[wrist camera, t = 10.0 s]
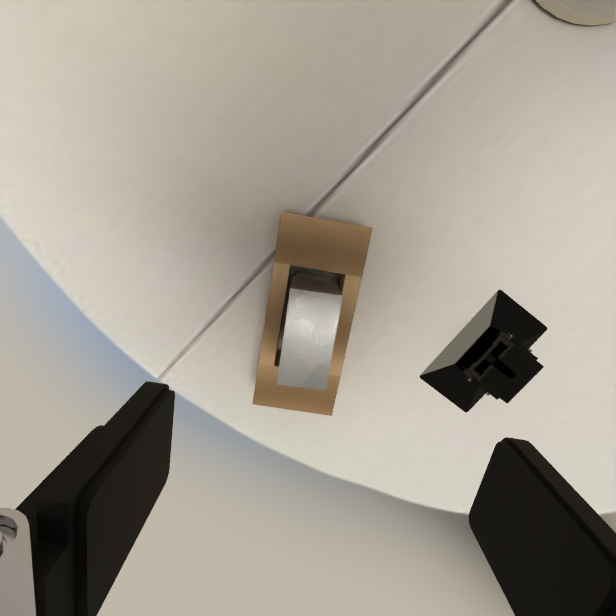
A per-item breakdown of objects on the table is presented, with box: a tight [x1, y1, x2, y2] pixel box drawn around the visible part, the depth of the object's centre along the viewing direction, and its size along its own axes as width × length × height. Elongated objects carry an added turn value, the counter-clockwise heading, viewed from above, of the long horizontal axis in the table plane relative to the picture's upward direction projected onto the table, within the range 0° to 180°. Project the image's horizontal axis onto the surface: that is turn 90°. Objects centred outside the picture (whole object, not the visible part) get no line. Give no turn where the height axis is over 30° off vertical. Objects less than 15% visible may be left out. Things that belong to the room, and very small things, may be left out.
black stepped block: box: [420, 290, 547, 412], centre depth 26 cm, size 12×7×5 cm, turn 143°
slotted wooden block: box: [253, 212, 372, 416], centre depth 25 cm, size 14×6×3 cm, turn 170°
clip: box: [277, 273, 343, 391], centre depth 23 cm, size 6×3×7 cm, turn 171°
